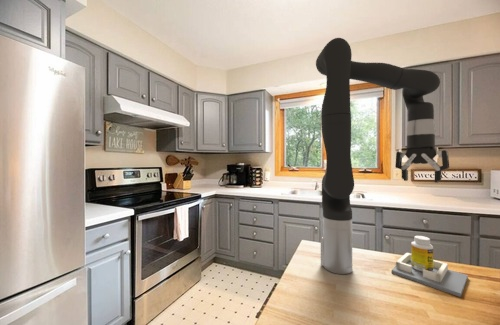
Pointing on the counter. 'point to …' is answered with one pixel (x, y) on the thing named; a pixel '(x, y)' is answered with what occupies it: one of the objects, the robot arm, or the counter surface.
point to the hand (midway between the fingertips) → (420, 181)
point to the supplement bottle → (422, 254)
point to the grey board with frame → (432, 275)
